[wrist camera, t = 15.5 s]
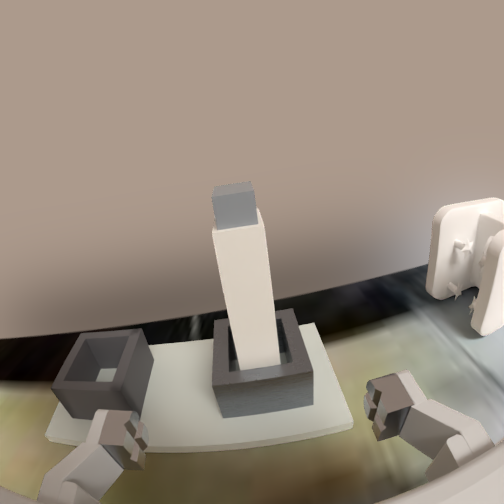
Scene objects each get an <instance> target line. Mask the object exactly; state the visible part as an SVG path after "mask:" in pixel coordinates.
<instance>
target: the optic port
mask: <svg viewBox="0 0 504 504" xmlns="http://www.w3.org/2000/svg"><path fill="white" fill-rule="evenodd" d="M275 319H276V328H277V336H278V345H279V353H285V356H286V360H287V363H286V364H280V365H274V366H268V367H262V368H255V369H248V370H240V371H236V361H235V360H238V358H237V353H236V349H235V344H234V340H233V335H232V330H231V326H230V321H229V318H228V319H220V320H214V341H213V366H212V388H213V391H214V394H215V397H216V400H217V402H218V405H219V408H220V411H221V414H222V417H223V418H233V417H242V416H250V415H258V414H265V413H271V412H278V411H284V410H289V409H295V408H300V407H305V406H310V405H314V372H313V368H312V365H311V362H310V359H309V356H308V353H307V350H306V347H305V344H304V341H303V338H302V335H301V332H300V329H299V326H298V323H297V320H296V317H295V314H294V311H293V309H286V310H280V311H275Z"/></svg>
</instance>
